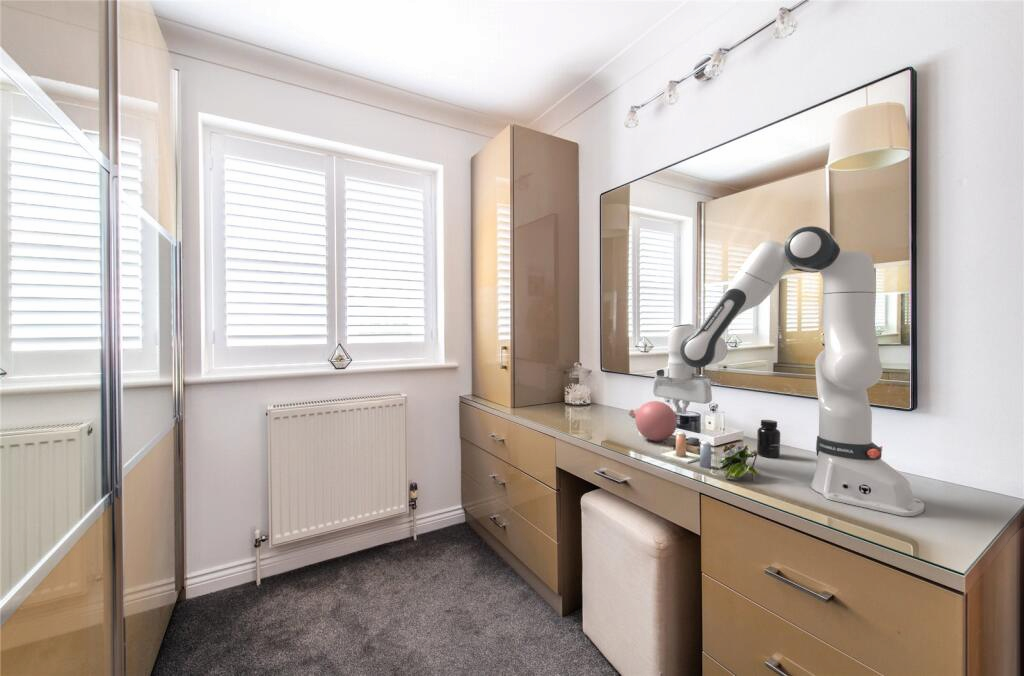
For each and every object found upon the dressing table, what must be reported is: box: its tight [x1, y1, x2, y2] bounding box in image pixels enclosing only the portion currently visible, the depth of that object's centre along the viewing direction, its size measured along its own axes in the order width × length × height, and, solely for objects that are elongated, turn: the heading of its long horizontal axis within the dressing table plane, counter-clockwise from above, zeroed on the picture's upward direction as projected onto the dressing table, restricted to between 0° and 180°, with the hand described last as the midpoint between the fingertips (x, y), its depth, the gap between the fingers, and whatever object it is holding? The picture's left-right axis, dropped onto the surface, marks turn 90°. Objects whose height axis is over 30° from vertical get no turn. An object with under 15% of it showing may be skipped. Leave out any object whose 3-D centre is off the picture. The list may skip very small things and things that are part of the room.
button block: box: [686, 440, 701, 455], centre depth 151 cm, size 8×8×2 cm
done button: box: [687, 436, 700, 446], centre depth 151 cm, size 4×4×3 cm
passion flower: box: [718, 443, 760, 481], centre depth 124 cm, size 11×11×12 cm
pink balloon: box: [627, 400, 678, 442], centre depth 167 cm, size 15×20×15 cm
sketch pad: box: [660, 449, 700, 464], centre depth 144 cm, size 10×10×1 cm
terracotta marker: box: [675, 431, 687, 457], centre depth 143 cm, size 3×3×8 cm
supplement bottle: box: [756, 419, 781, 459], centre depth 145 cm, size 7×7×12 cm
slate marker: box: [699, 440, 712, 469], centre depth 134 cm, size 3×3×8 cm
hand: (680, 413), depth 143 cm, fingers closed
